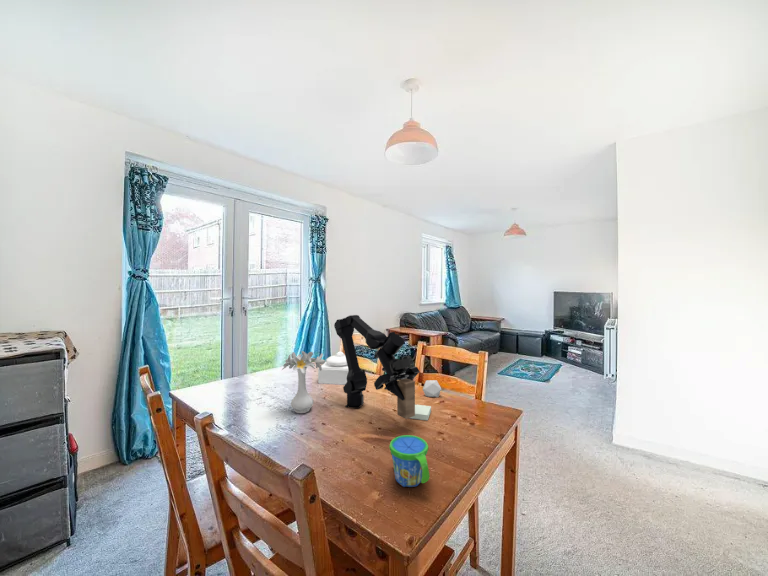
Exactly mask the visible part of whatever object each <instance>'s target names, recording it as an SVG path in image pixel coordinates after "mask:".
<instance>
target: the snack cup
mask: <svg viewBox="0 0 768 576" xmlns="http://www.w3.org/2000/svg"><path fill="white" fill-rule="evenodd" d="M388 446H389V451H390V455H391V458H392V465H393V471H394V472H393V473H394V477H395V481H396V482H397V483H398V484H399V485H401V486H402V487H403V488H405V487H408V488H413V487H417V486H419V485H420V484H425V483H428V481H429V480H430V477H431V476H430V470H429V464H428V460H427V454H428V450H429V445H428V443H427V440H425V439H424V438H422V437H420V436H416V435H412V434H406V435H405V434H403V435H399V436H397V437H394V438H392V439H391V441H390V443H389V445H388Z"/></svg>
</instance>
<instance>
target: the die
mask: <svg viewBox="0 0 768 576" xmlns="http://www.w3.org/2000/svg"><path fill="white" fill-rule="evenodd" d="M422 391H423V393H424V396H425V397H429V398H439V396H440V394H441V392H442V387H441V385H440V384H439V382H438V380H437V379H436V380H434V379H433V380H431V379H429V380H425V382H424V385H423V388H422ZM440 391H441V392H440Z"/></svg>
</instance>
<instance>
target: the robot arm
mask: <svg viewBox="0 0 768 576" xmlns="http://www.w3.org/2000/svg"><path fill="white" fill-rule="evenodd" d="M333 326H334V330H335V332H336V335H337V336H338V337H339V338H340V339H341V343H342V347H343V353H344V355H345V357H346V361H347V365H348V370H349V371H348V374H347V383H346V384H345V385H343V387H342V388H343V393H345V394H346V405H345V407H346V408H352V409H360V408H361V407H362V406H363V405H364V403H365V402H364V400H365V399H364V398H365V396H364V394H363V392H365V391H366V389H367V385H368V377H367V375H366V371H365V370H362V369H361V367H360V364H359V360H358V355H357V351H356V348H355V343H354V339H353V335H354V332H355V330H356V331H357V332H358V333H359V334H360V335H361V336H362V337H363V338H364V340H365V344H366V345H367V346H368V347H369V349H371V350H377V351H375V352H374V353H375V354H374V356H373V358H374V359H378V361H379V362H380V365H381V366H382V368H381V370H382V372H385V373H384V374H380V375H379V376H378V377H377V378H376V380H375V381H374V383H373V386H374V388H375V390H377V391H378V390H382V389H383V388H384V390H385V391H386V390H387V391H388V392H390V393H392V394H393V395H394V396H396V398H397V397H398V398H400V399H401V400H402V401H403V400H404V399H405V398H404V396H403V394H402V392H401V390H400V388H399V386H398V381H399V380H402V379H406V378H407V379H410V380H413V379H415V378H416V377H417V376H418V375H419V373H421V372H420V369H419V368H418V367H417V366H412V365H413V363H414V361H413V358H412V357H411V356H410V355H405V356H404V357H403V358H402V359H399V358H396V357H395V355H396V354H397V353H398V352H399V351H400V350H401V349H402V347H403V346H404V344H405V340H404V338H403V337H402V336H400V335H399V334H398V333H396V332H395V331H390V332H389V334H388V335H387V334H385V333H384V332H381V331H380V330H376V329H374V328H373V327H371V326H370V325H369V324H368V323H367V322H365V320H363V319H362V318H361V317H360V315H358V314H350V315H348V316H346V317H343V318H340V319H337V320H336V321H335V322H334V324H333ZM406 368H407V370H406ZM384 385H385V387H384Z"/></svg>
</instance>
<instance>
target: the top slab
mask: <svg viewBox="0 0 768 576" xmlns="http://www.w3.org/2000/svg"><path fill="white" fill-rule="evenodd" d="M431 413H432V406H431V405H424V404H416V403H415V416H412V417H410V418H409V419H411V418H413V420H421V421H428V420H429V418H430V416H431Z"/></svg>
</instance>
